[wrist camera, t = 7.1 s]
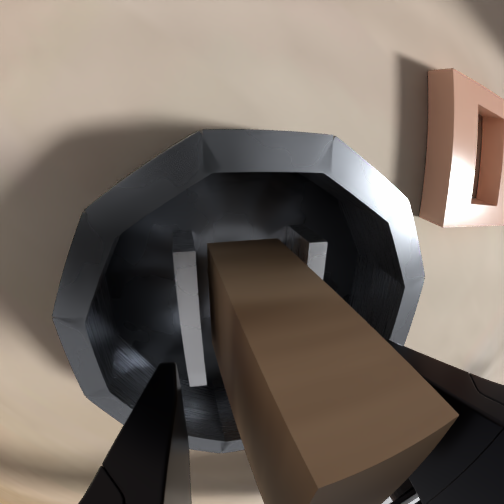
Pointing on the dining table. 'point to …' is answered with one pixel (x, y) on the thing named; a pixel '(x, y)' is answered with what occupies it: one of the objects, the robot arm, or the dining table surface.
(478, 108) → the rest block
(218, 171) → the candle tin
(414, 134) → the dining table surface
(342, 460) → the tan bar
